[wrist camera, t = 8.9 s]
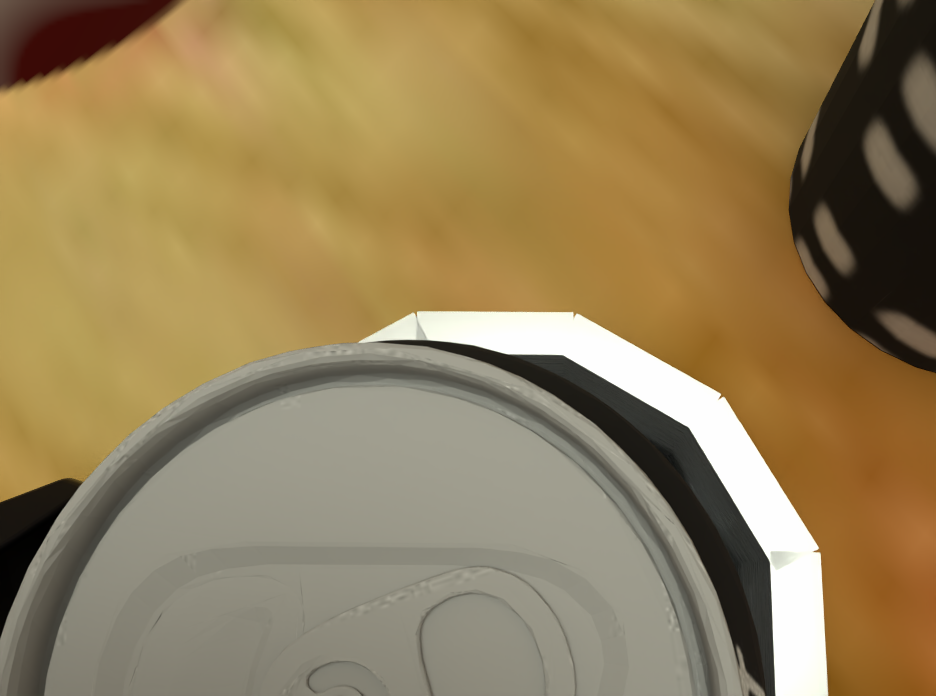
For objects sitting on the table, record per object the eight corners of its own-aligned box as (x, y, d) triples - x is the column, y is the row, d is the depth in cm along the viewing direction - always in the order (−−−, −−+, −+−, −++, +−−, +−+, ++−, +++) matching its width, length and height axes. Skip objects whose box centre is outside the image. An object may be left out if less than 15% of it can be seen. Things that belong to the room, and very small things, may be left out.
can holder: (889, 741, 18) (998, 803, 13) (389, 1012, 17) (319, 1171, 13) (605, 275, 21) (611, 191, 16) (183, 502, 21) (68, 484, 16)
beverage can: (312, 517, 19) (-118, 435, 7) (597, 423, 18) (619, 182, 7) (392, 838, 17) (-12, 1406, 5) (711, 740, 17) (995, 1124, 5)
